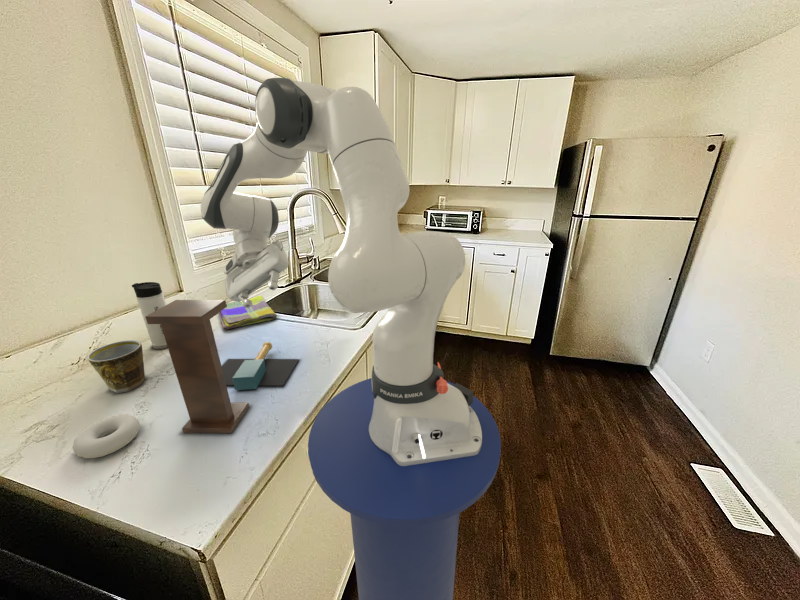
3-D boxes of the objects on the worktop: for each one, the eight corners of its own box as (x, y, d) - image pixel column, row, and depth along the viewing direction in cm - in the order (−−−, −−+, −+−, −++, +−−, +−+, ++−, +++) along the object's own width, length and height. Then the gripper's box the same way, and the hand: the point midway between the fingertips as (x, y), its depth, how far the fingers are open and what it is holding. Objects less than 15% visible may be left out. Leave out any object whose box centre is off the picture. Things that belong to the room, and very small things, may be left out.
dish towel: (264, 299, 136) (263, 293, 135) (278, 320, 117) (277, 313, 116) (217, 308, 127) (216, 302, 126) (224, 332, 108) (222, 325, 107)
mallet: (278, 349, 97) (276, 338, 95) (256, 389, 79) (253, 376, 77) (261, 349, 96) (259, 339, 95) (234, 390, 78) (232, 378, 77)
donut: (136, 450, 62) (146, 417, 70) (130, 436, 61) (141, 404, 69) (67, 471, 58) (86, 433, 66) (59, 457, 57) (80, 420, 65)
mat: (298, 360, 91) (298, 359, 91) (283, 386, 80) (283, 385, 80) (228, 360, 92) (228, 358, 92) (203, 386, 81) (203, 384, 81)
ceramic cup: (113, 378, 84) (99, 344, 81) (158, 370, 88) (147, 337, 84) (88, 409, 73) (71, 372, 69) (140, 399, 76) (127, 362, 73)
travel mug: (157, 340, 103) (138, 280, 96) (180, 338, 104) (163, 279, 97) (147, 350, 98) (126, 287, 90) (172, 348, 99) (153, 285, 91)
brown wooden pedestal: (249, 406, 73) (225, 299, 64) (231, 433, 66) (201, 316, 56) (206, 406, 74) (175, 299, 64) (183, 432, 66) (145, 316, 57)
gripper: (289, 242, 91) (298, 281, 85) (238, 279, 97) (244, 319, 90) (271, 231, 86) (280, 272, 79) (219, 272, 91) (223, 313, 85)
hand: (260, 297), depth 85 cm, fingers open, 8 cm apart
